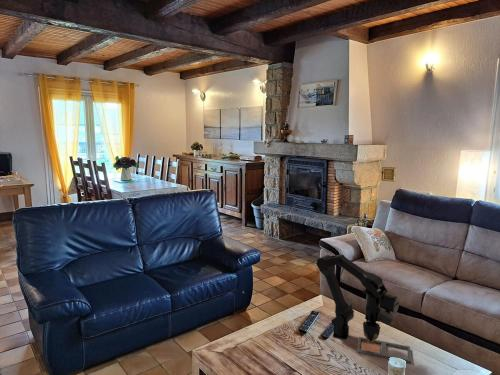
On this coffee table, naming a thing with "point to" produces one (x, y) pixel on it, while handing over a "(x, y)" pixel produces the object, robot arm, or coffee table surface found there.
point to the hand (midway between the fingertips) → (370, 336)
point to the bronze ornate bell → (374, 334)
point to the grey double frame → (375, 349)
